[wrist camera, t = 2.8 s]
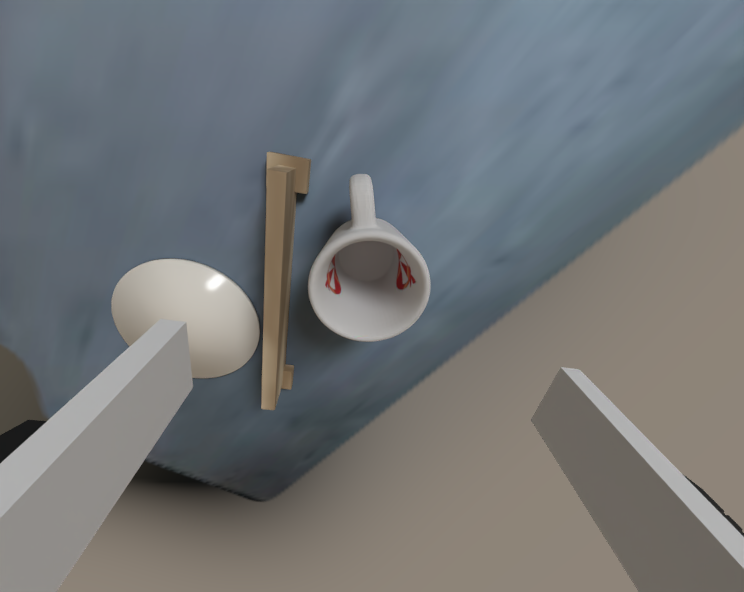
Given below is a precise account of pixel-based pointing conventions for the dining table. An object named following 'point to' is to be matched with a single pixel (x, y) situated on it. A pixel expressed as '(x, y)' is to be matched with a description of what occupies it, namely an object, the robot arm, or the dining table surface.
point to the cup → (368, 275)
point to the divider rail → (279, 268)
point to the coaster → (190, 312)
